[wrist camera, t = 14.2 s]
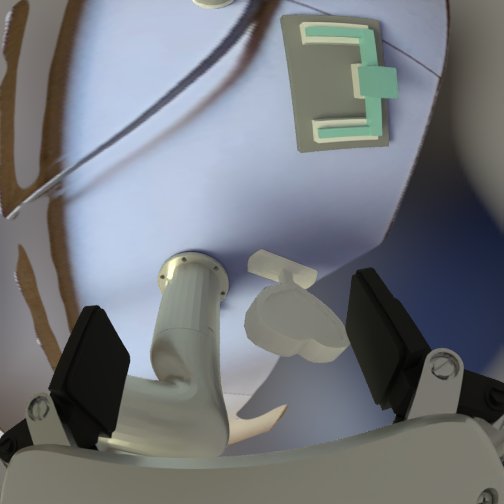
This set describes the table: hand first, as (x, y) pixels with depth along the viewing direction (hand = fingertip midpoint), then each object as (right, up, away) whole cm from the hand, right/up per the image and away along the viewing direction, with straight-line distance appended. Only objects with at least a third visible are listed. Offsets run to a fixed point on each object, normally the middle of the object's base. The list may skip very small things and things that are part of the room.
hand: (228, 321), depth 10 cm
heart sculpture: (+6, -1, +41) cm, 41 cm away
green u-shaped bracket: (+13, +24, +20) cm, 34 cm away
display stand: (+13, +27, +24) cm, 38 cm away
